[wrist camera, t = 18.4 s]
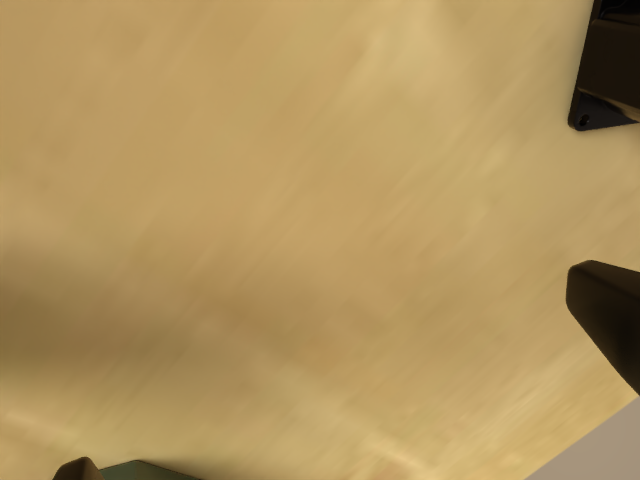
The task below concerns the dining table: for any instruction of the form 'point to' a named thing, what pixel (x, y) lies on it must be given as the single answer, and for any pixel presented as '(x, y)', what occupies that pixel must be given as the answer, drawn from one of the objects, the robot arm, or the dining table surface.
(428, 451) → the dining table surface
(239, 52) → the dining table surface
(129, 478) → the green pot
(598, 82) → the robot arm
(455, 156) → the dining table surface
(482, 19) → the dining table surface
